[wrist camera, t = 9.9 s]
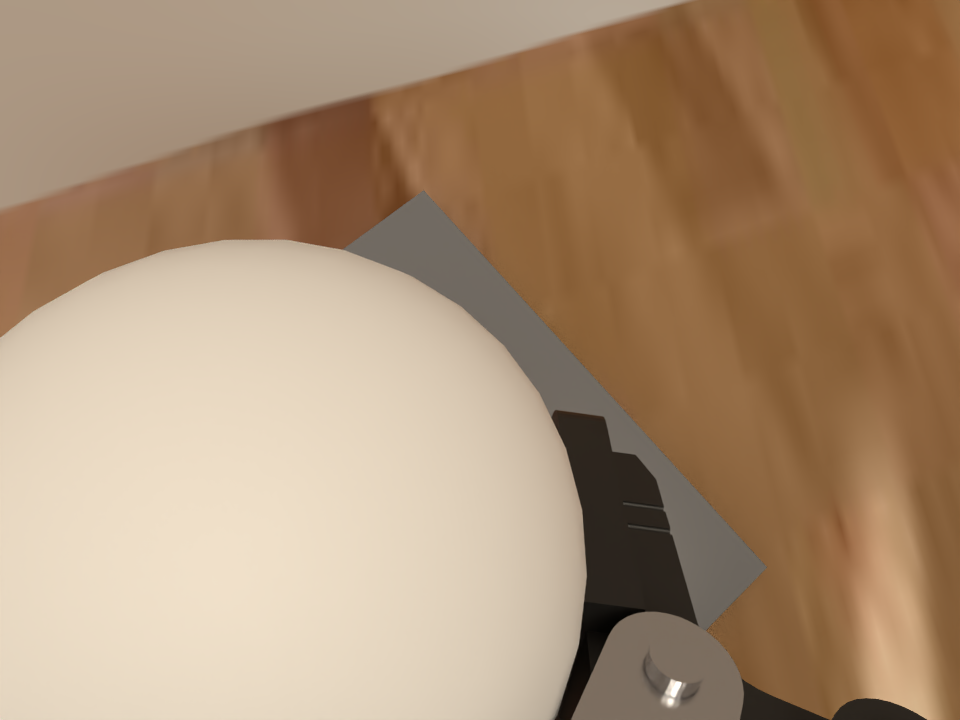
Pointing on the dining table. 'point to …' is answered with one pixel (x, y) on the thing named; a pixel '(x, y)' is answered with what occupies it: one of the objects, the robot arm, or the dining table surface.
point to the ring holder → (563, 388)
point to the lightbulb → (278, 500)
